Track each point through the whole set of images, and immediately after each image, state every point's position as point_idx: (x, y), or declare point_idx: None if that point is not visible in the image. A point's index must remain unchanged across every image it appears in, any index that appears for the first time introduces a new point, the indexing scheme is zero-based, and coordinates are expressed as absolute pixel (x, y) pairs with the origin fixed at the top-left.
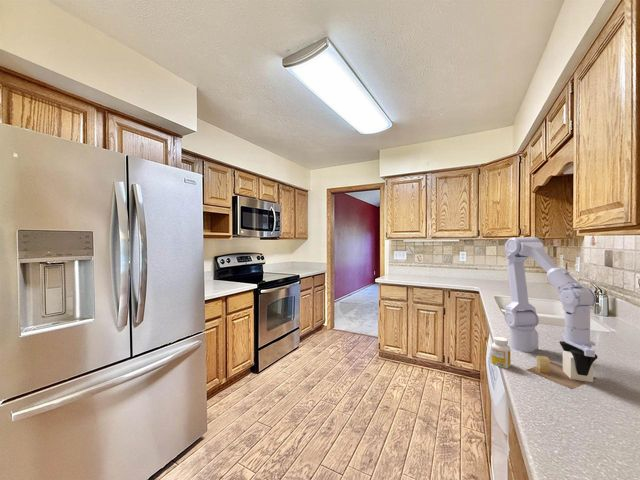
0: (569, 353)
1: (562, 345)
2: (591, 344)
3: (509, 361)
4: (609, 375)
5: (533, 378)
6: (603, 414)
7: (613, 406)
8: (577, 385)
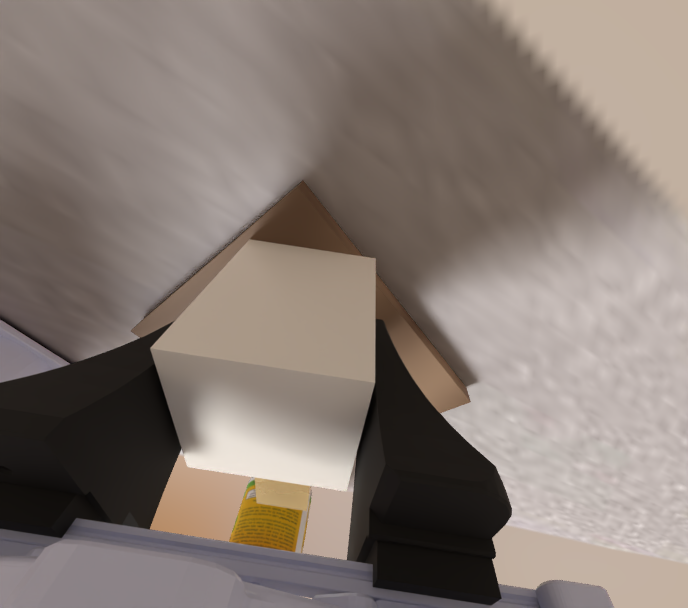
0: (243, 459)
1: (151, 521)
2: None
3: (293, 516)
4: None
5: None
6: (654, 378)
7: (609, 296)
8: (431, 362)
